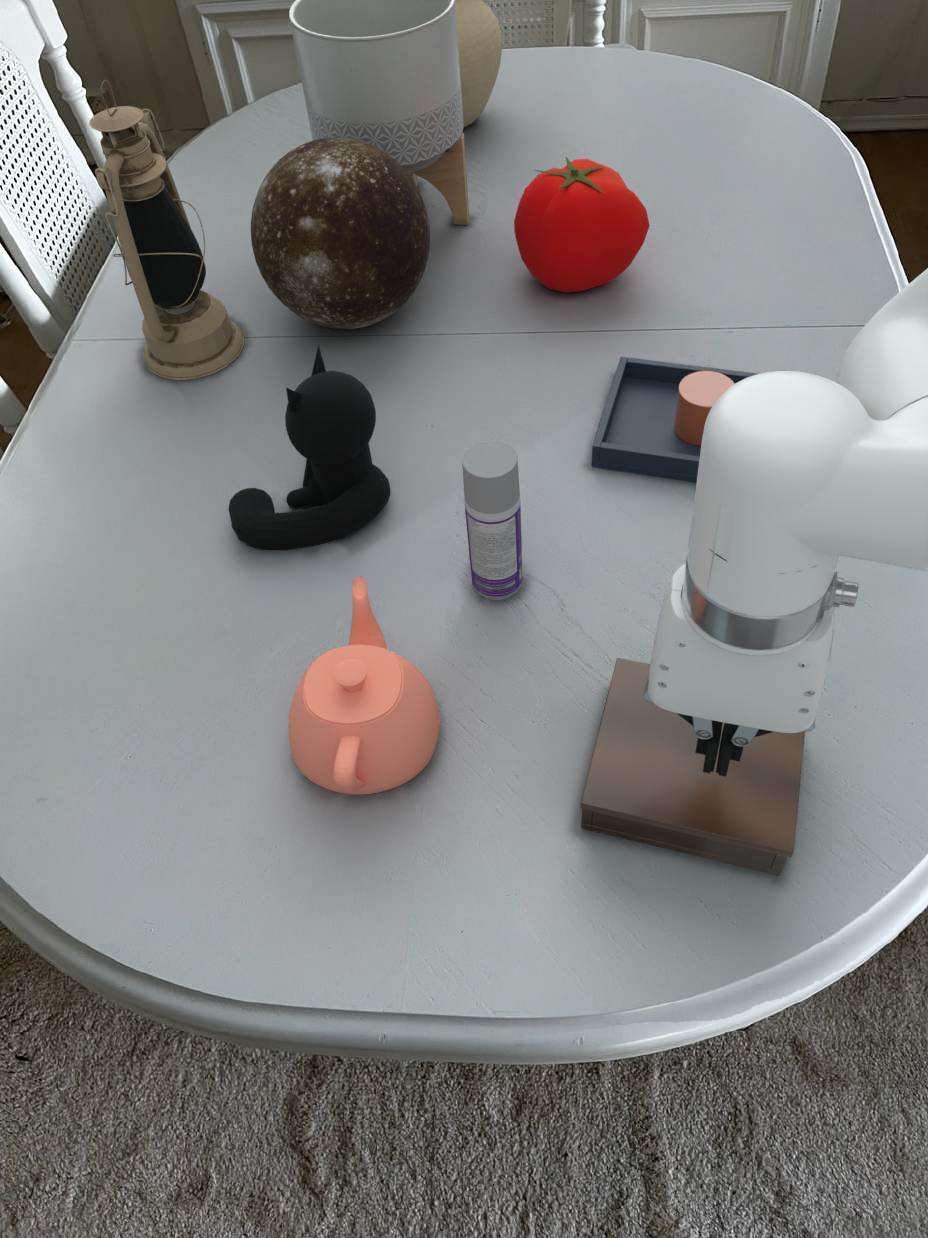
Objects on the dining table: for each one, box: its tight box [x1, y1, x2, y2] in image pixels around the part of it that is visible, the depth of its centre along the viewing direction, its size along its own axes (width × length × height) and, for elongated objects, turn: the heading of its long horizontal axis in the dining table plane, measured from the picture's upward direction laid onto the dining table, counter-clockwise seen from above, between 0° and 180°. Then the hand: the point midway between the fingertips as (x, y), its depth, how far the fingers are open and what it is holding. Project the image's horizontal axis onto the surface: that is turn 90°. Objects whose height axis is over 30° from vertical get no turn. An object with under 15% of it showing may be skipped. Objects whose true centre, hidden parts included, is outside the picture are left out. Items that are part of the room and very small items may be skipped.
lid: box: [579, 657, 806, 858], centre depth 71 cm, size 13×15×1 cm
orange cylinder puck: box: [674, 371, 735, 446], centre depth 97 cm, size 6×6×5 cm
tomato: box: [513, 156, 651, 293], centre depth 113 cm, size 16×14×14 cm
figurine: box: [227, 344, 391, 552], centre depth 91 cm, size 16×14×15 cm
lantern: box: [88, 79, 245, 381], centre depth 103 cm, size 15×12×30 cm
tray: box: [590, 356, 759, 484], centre depth 98 cm, size 20×15×3 cm
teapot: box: [288, 576, 441, 795], centre depth 76 cm, size 12×18×10 cm
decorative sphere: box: [250, 137, 431, 330], centre depth 109 cm, size 20×20×20 cm
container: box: [461, 439, 524, 601], centre depth 83 cm, size 5×5×15 cm
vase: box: [455, 0, 503, 129], centre depth 135 cm, size 17×17×30 cm
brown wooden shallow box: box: [580, 809, 789, 876], centre depth 74 cm, size 13×15×4 cm
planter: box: [288, 0, 470, 226], centre depth 119 cm, size 19×19×26 cm
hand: (717, 756), depth 67 cm, fingers closed
